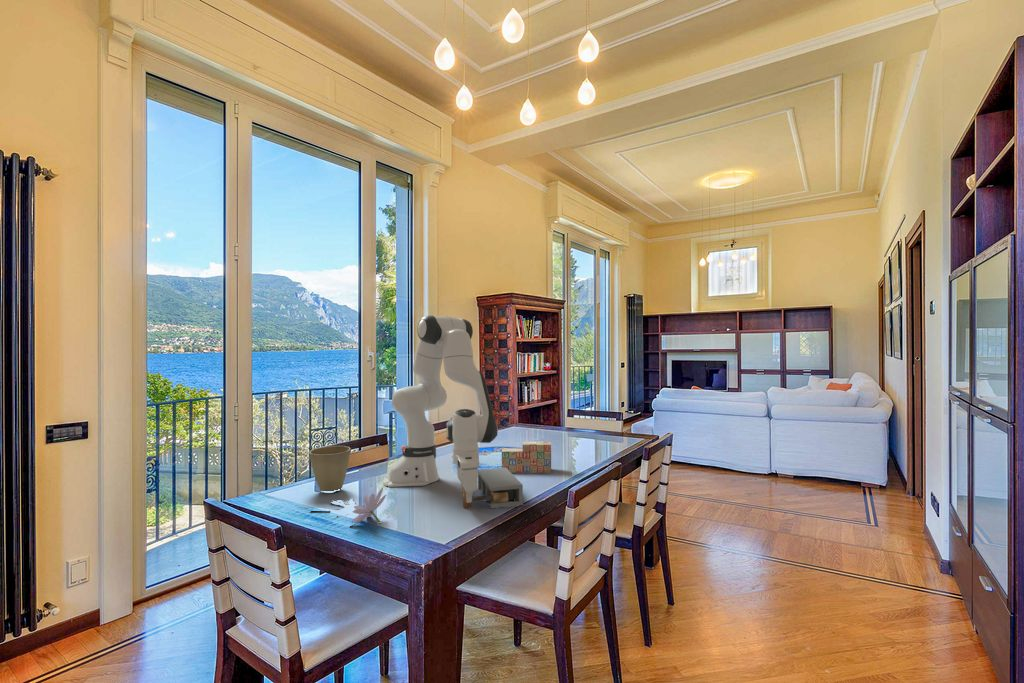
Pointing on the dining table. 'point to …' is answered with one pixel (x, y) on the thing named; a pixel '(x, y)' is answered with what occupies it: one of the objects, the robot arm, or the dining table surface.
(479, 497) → the toy hammer
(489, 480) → the shelf
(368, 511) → the water lily
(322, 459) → the plant pot
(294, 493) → the dining table surface
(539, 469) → the stack of blocks
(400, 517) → the dining table surface
